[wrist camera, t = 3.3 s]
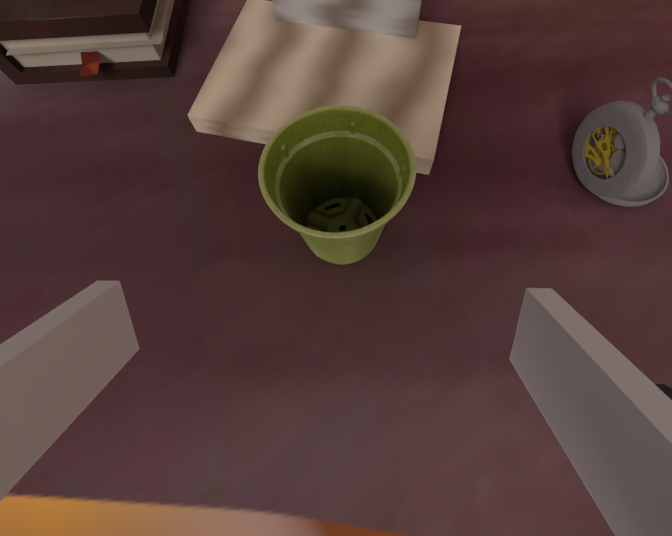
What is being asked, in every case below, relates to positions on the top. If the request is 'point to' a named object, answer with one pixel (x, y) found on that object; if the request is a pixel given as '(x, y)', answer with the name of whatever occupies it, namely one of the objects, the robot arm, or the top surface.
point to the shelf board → (330, 68)
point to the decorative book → (90, 39)
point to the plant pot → (337, 178)
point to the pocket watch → (623, 151)
